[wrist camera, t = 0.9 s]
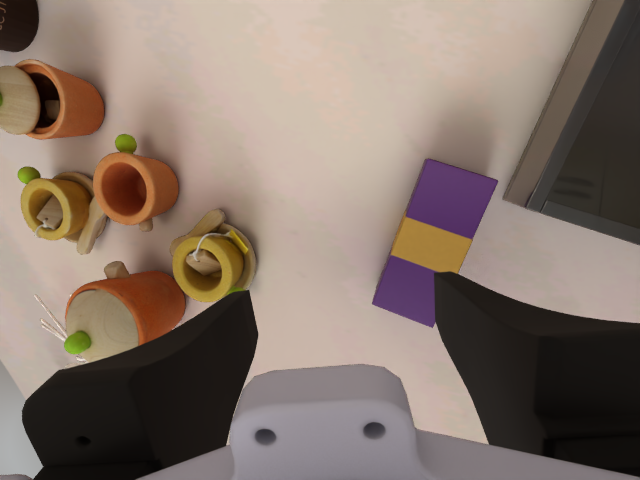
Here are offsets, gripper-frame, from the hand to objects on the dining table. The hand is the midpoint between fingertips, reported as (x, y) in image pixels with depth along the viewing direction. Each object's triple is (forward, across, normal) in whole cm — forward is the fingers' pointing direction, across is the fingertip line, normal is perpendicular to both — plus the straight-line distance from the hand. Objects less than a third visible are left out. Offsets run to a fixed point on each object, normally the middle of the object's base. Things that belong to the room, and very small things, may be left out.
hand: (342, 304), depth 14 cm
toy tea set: (+19, +19, -1) cm, 27 cm away
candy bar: (+13, -6, +2) cm, 15 cm away
